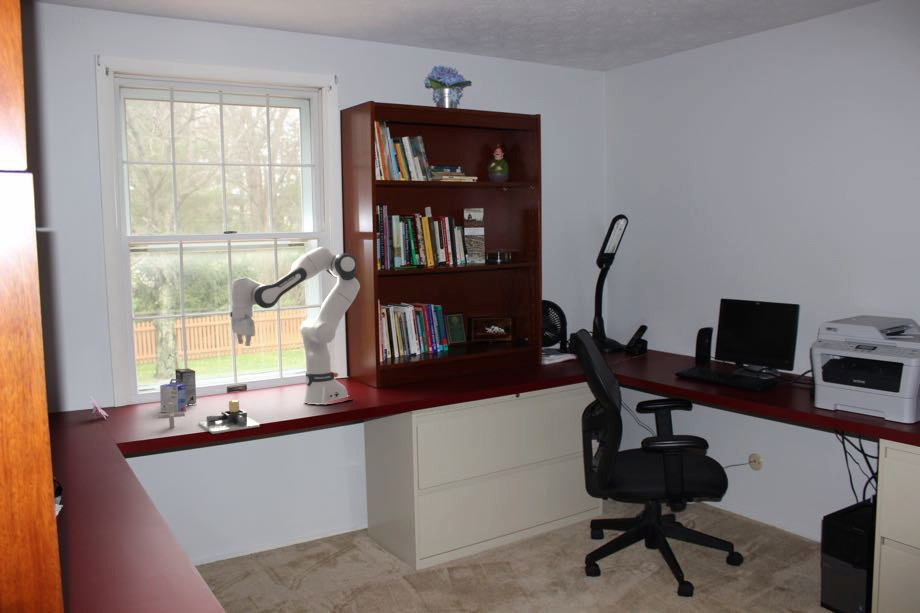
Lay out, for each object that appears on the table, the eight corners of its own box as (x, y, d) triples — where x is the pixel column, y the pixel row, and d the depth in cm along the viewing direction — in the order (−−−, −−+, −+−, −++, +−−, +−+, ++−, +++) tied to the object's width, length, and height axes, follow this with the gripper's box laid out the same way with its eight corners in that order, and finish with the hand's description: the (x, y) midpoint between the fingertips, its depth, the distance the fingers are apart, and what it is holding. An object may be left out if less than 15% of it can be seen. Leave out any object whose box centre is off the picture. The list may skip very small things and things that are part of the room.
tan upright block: (237, 418, 310) (237, 399, 309) (240, 420, 307) (240, 401, 306) (228, 420, 308) (227, 401, 307) (231, 421, 304) (230, 402, 304)
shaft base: (243, 417, 315) (243, 407, 315) (259, 426, 300) (259, 415, 300) (198, 424, 304) (198, 413, 304) (212, 433, 289) (211, 422, 289)
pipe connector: (184, 423, 307) (183, 399, 306) (185, 428, 298) (184, 404, 297) (158, 425, 303) (157, 401, 302) (158, 431, 294) (157, 406, 293)
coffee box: (176, 403, 346) (174, 369, 345) (190, 401, 350) (188, 367, 349) (182, 406, 339) (181, 372, 337) (196, 404, 343) (195, 370, 341)
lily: (96, 426, 308) (107, 405, 310) (71, 415, 309) (83, 394, 311) (109, 428, 319) (120, 407, 322) (85, 417, 320) (96, 397, 322)
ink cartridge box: (187, 411, 330) (185, 379, 328) (178, 413, 324) (177, 381, 323) (169, 409, 333) (167, 378, 332) (160, 412, 328) (158, 380, 326)
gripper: (258, 315, 323) (259, 346, 324) (242, 312, 340) (243, 341, 341) (243, 316, 319) (245, 347, 321) (228, 312, 336) (229, 343, 337)
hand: (244, 344), depth 331 cm, fingers open, 8 cm apart
